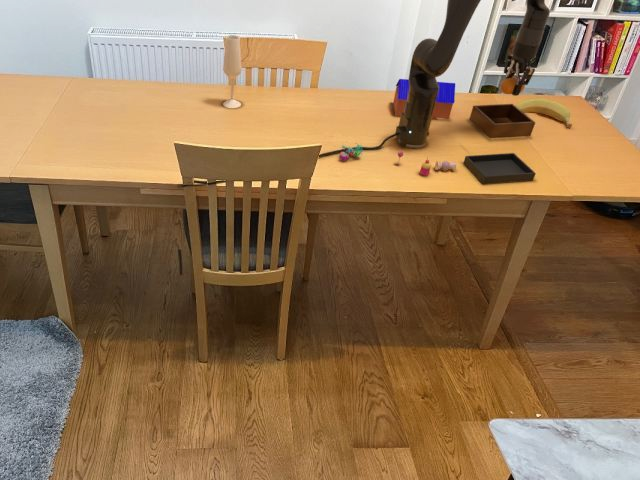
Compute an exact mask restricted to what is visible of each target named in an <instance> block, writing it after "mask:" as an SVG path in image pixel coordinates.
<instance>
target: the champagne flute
mask: <svg viewBox="0 0 640 480" xmlns="http://www.w3.org/2000/svg"><path fill="white" fill-rule="evenodd" d="M242 63H243V62H242V50H241V37H240V36H239V35H236V34H230V35H229V34H228V35H226V36H225V44H224V54H223V65H222V66H223V67H222V71H223V73H224V74H225V75H226V76H227V77H228V78H229V79H230V98H229V99H228V100H226V101H224V102H223V103H222V105H223V106H224V107H225V108H229V109H237V108H240V107H241V106H242V103H241V102H239V101H238V100H236V99H235V79H236V78H237V77H238V76H240V74H241V73H242V71H243V64H242Z"/></svg>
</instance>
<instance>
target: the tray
mask: <svg viewBox="0 0 640 480" xmlns="http://www.w3.org/2000/svg"><path fill="white" fill-rule="evenodd" d="M463 165H464V166H465V167H466V168H467V169H468V170H469V171H470V172H471V173H472V174H473V175H474V176H475V178H476V179H477V180H478V181H479V183H481V184H482V185H490V184H504V183H515V182H516V183H517V182H519V183H520V182H531V181H532V182H533V181H534V179H535V177H536V172H535V171H534V170H533V169H532V168H531V167H530V166H529V165H528V164H527V163H525V162H524V161H523V159H521V158H520V157H519V156H518V155H517V154H516V153H514V152H508V153H506V152H505V153H491V154H477V155H465V157H464V159H463Z"/></svg>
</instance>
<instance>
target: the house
mask: <svg viewBox="0 0 640 480" xmlns="http://www.w3.org/2000/svg"><path fill="white" fill-rule="evenodd" d="M437 83H438V85H439V91H438V95H437V99H436V103H435V107H434V111H433V115H432V119H431V120H438V119H450V116H451V112H452V109H453V105H454V104H455V97H456V83H455V82H445V81H444V82H443V81H437ZM408 92H409V78H408V79H407V78H399V79H398V81H397V83H396V84H395V93H394V98H393V102H392V105H393V110H394V116H395V117H399V118H400V117H401V113H403V112H404V110H405V105H406V101H407V96H408Z"/></svg>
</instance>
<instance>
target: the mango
mask: <svg viewBox="0 0 640 480" xmlns="http://www.w3.org/2000/svg"><path fill="white" fill-rule="evenodd" d="M516 79H517V78H516V77H513V78H507V79H506V78H504V79H503V80H502V82H501V83H500V87H499V88H500V91H501V92H502V93H503V94H505V95H512V92H513V90H514V87H515V84H516ZM521 79H522V77H520V81H521ZM525 87H526V85H523V86H522V88H521V91H520V93H522V92H523V91H524V90H525Z"/></svg>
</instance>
